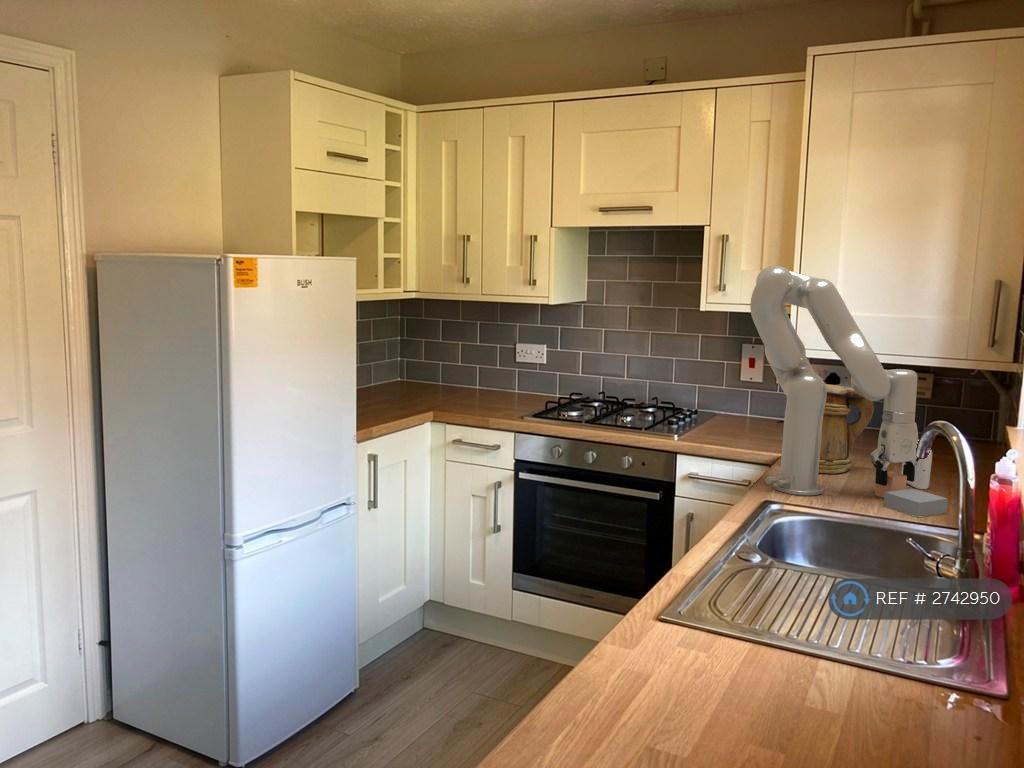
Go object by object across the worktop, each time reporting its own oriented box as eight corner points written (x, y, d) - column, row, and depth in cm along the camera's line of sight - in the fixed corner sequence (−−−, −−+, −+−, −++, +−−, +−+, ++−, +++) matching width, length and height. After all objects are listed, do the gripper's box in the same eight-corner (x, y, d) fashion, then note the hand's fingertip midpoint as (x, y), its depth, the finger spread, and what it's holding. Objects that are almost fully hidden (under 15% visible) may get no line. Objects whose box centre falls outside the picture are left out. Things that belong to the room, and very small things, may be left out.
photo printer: (931, 489, 228) (935, 445, 227) (915, 489, 228) (919, 444, 227) (913, 480, 238) (917, 437, 237) (898, 479, 238) (902, 436, 237)
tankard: (782, 457, 262) (788, 378, 258) (864, 465, 255) (871, 383, 252) (784, 471, 245) (790, 385, 241) (871, 479, 238) (879, 391, 235)
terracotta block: (890, 500, 217) (892, 477, 216) (875, 495, 221) (877, 472, 220) (904, 498, 219) (907, 475, 218) (889, 493, 223) (891, 471, 223)
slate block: (917, 519, 202) (919, 502, 201) (883, 507, 211) (884, 492, 210) (946, 514, 206) (947, 498, 206) (910, 503, 215) (912, 488, 215)
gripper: (885, 422, 210) (881, 489, 213) (935, 417, 217) (930, 482, 220) (862, 417, 217) (858, 482, 219) (910, 412, 224) (906, 475, 226)
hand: (894, 482), depth 219 cm, fingers open, 9 cm apart
